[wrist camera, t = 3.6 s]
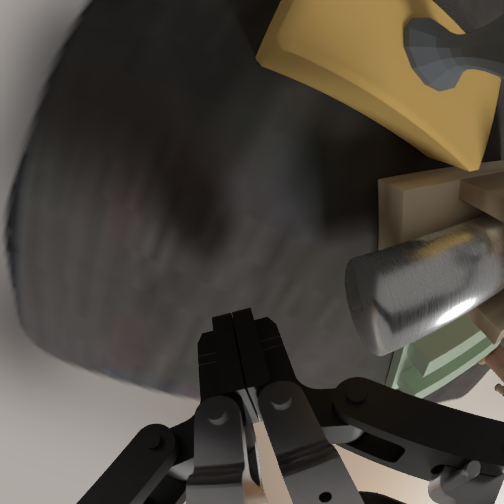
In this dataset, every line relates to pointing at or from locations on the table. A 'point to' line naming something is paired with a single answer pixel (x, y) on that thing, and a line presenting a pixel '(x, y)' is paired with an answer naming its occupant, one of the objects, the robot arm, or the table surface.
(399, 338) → the axle
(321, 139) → the table surface
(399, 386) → the cradle
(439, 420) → the robot arm
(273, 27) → the rubber stamp
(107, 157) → the table surface
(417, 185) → the beige block
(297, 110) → the table surface
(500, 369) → the grandmother figurine
